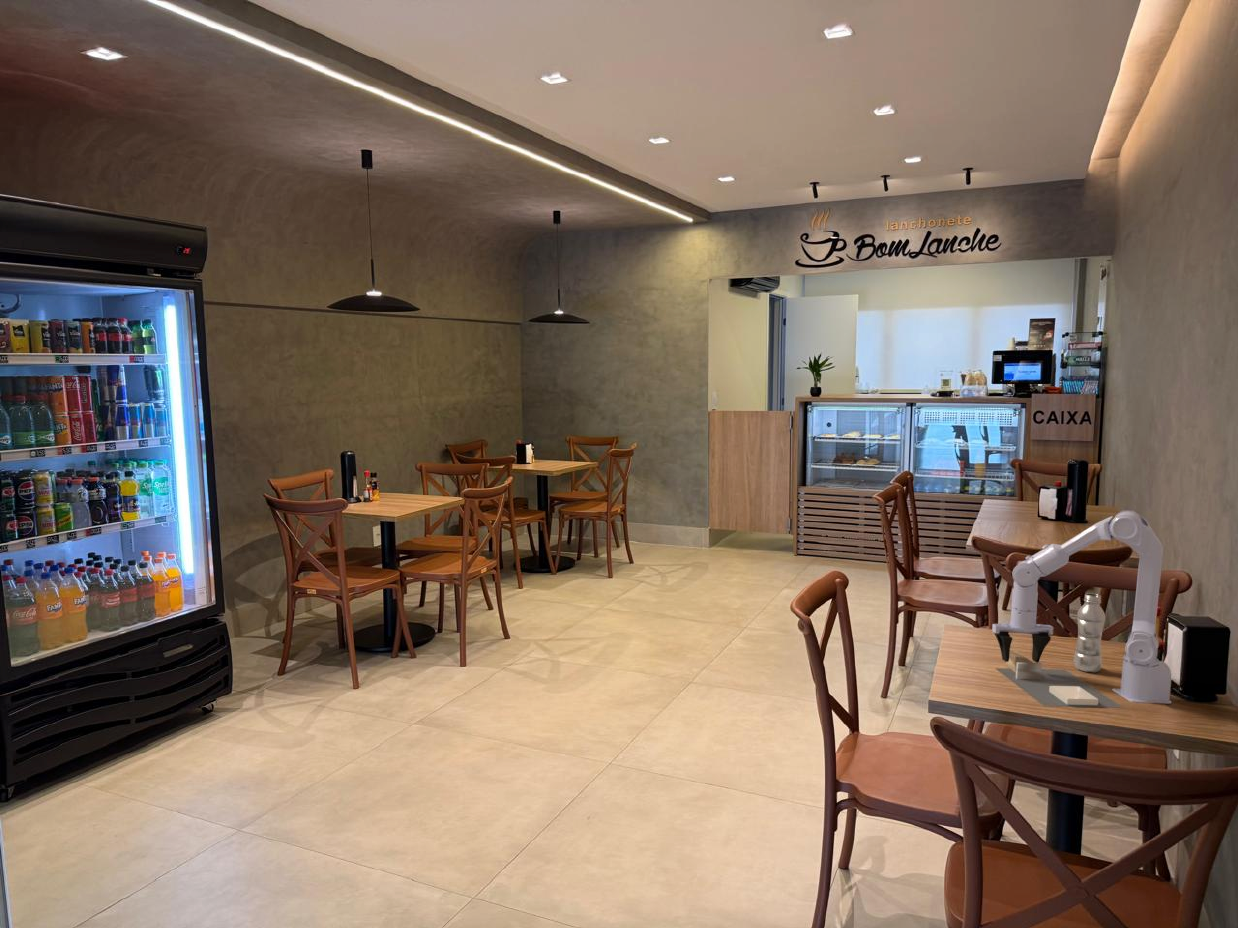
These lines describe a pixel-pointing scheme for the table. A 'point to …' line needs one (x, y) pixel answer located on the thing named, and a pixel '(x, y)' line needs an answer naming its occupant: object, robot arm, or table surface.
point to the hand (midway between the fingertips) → (1020, 660)
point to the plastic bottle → (1089, 634)
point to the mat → (1055, 678)
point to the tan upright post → (1024, 667)
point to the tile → (1073, 695)
